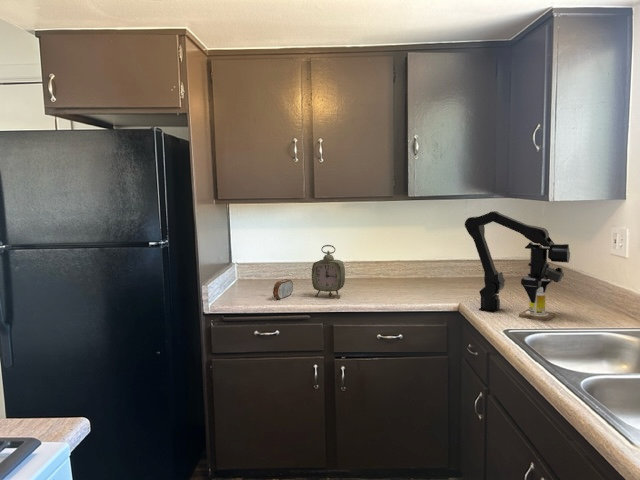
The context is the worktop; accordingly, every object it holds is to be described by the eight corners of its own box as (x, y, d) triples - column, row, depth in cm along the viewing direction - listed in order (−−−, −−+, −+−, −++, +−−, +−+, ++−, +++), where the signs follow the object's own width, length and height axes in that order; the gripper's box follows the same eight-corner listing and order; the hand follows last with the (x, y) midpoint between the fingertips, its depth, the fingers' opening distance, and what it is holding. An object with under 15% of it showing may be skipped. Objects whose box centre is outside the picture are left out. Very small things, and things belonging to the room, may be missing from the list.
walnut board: (518, 316, 175) (518, 313, 175) (528, 311, 182) (528, 308, 182) (546, 321, 168) (546, 318, 168) (555, 316, 175) (555, 312, 175)
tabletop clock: (312, 298, 214) (310, 245, 212) (318, 294, 223) (317, 243, 221) (341, 299, 210) (340, 246, 208) (346, 295, 219) (345, 244, 216)
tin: (288, 294, 224) (288, 277, 224) (294, 294, 223) (293, 277, 222) (272, 300, 211) (272, 282, 210) (278, 301, 210) (277, 283, 209)
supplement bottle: (546, 312, 175) (547, 286, 174) (542, 315, 171) (542, 289, 170) (531, 310, 179) (532, 285, 178) (526, 313, 175) (527, 287, 174)
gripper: (553, 265, 161) (551, 308, 162) (569, 259, 174) (567, 299, 175) (520, 262, 168) (519, 303, 170) (538, 257, 182) (537, 295, 183)
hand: (537, 300), depth 174 cm, fingers open, 9 cm apart
